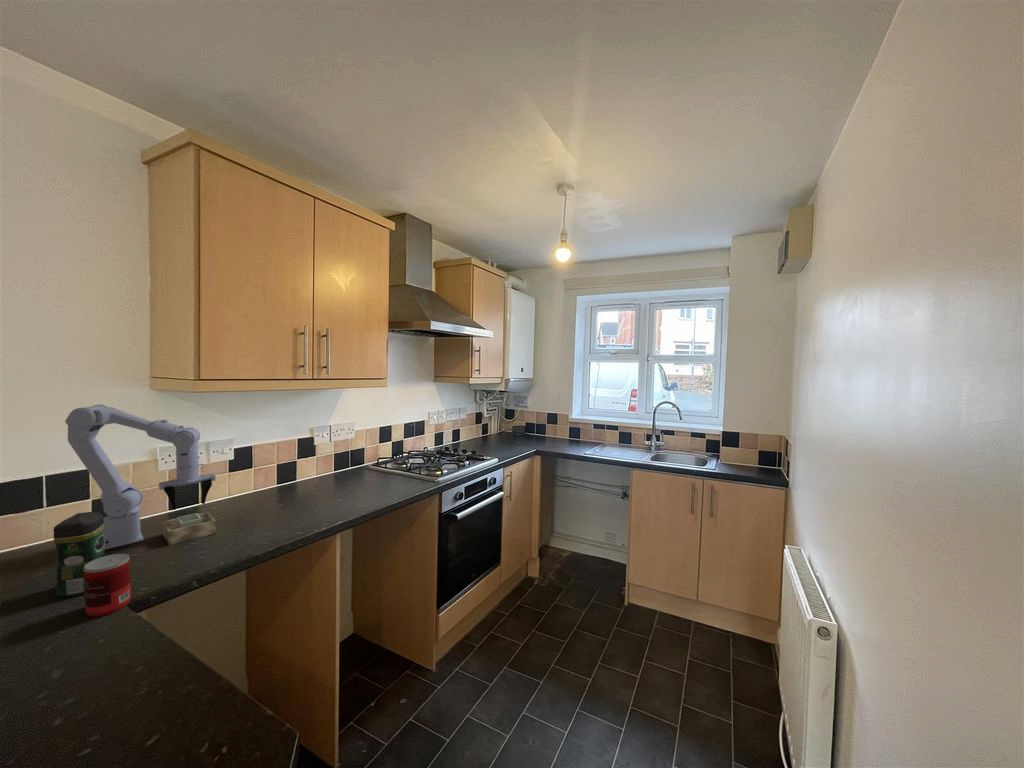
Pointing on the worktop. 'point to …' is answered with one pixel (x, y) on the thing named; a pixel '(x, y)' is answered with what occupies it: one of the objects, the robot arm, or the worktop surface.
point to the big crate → (189, 529)
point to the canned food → (107, 584)
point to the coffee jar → (77, 549)
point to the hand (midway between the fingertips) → (188, 506)
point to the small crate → (188, 520)
